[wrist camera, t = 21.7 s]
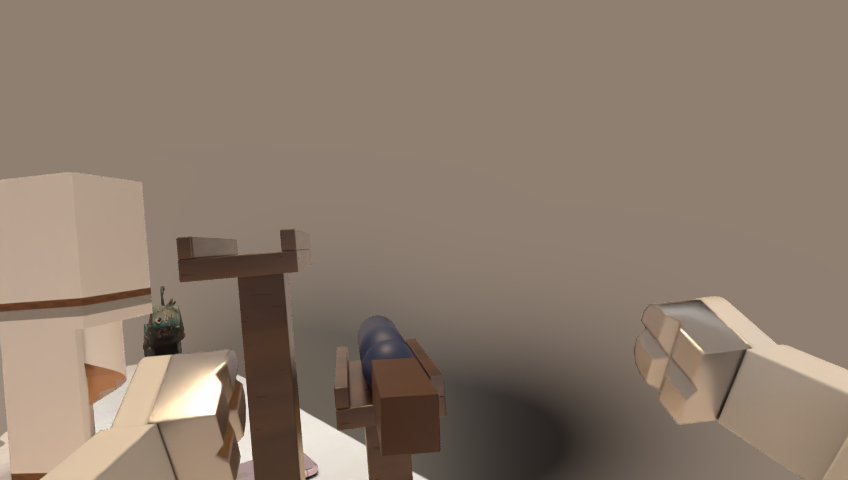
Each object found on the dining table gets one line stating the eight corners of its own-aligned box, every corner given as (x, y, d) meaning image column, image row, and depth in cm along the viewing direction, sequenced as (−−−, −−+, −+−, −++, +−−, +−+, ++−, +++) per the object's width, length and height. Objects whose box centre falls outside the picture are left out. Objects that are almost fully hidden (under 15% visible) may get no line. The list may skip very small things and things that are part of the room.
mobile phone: (158, 484, 55) (297, 444, 63) (159, 493, 55) (298, 452, 63) (167, 513, 49) (321, 464, 57) (168, 523, 49) (321, 473, 57)
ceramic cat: (192, 405, 88) (182, 286, 88) (148, 414, 85) (138, 290, 85) (182, 381, 106) (174, 282, 106) (146, 388, 102) (137, 286, 102)
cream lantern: (97, 490, 58) (71, 171, 57) (12, 491, 59) (-13, 181, 59) (163, 448, 69) (141, 182, 69) (90, 450, 70) (69, 189, 70)
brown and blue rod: (450, 461, 21) (448, 382, 21) (371, 468, 21) (369, 387, 21) (395, 350, 44) (394, 312, 44) (357, 352, 44) (356, 314, 44)
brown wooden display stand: (469, 663, 30) (432, 217, 30) (213, 716, 28) (173, 237, 28) (433, 545, 42) (407, 225, 42) (252, 576, 40) (224, 240, 40)
